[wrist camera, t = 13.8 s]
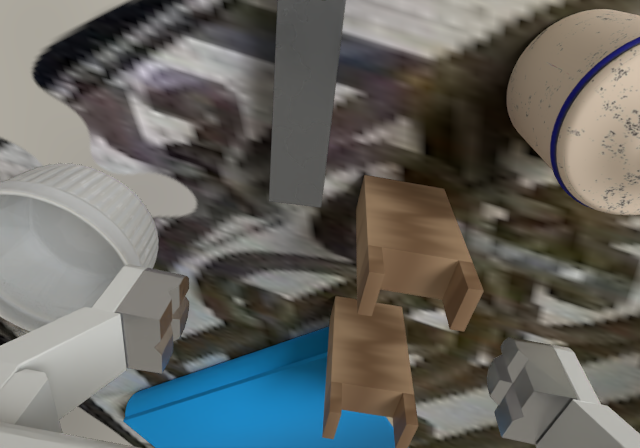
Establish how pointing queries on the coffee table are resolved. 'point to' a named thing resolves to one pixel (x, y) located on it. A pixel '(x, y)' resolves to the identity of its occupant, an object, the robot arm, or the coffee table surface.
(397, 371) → the post
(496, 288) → the coffee table surface
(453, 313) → the post
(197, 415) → the book
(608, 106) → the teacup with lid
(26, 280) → the ramekin
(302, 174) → the rail
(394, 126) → the coffee table surface
